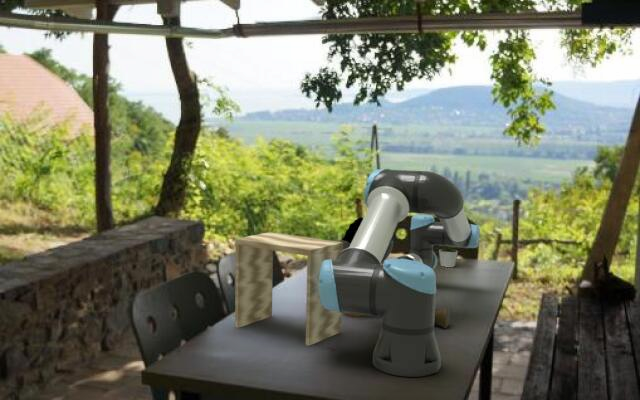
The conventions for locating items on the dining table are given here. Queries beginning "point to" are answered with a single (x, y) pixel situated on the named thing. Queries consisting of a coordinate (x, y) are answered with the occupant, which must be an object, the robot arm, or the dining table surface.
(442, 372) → the dining table surface
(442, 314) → the kendama
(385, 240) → the robot arm
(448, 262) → the house plant
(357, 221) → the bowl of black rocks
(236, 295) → the plywood stool
